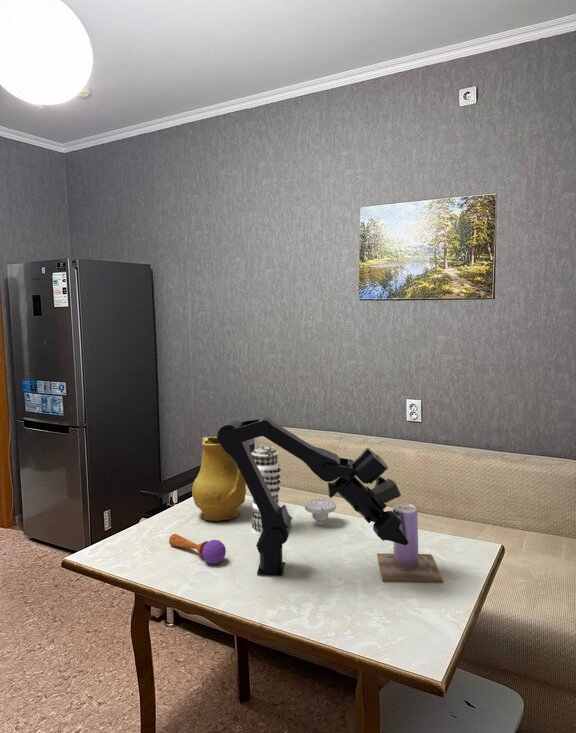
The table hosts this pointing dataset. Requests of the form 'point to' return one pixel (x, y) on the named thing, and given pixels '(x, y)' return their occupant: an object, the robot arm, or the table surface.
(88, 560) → the table surface
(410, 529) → the beverage can
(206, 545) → the purple ball maraca
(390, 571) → the plate
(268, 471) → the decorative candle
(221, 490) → the pitcher
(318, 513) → the showerhead
